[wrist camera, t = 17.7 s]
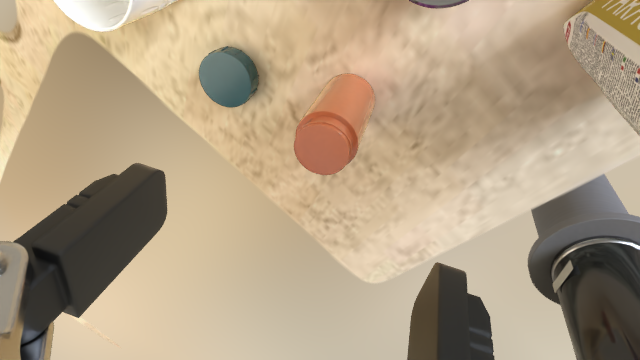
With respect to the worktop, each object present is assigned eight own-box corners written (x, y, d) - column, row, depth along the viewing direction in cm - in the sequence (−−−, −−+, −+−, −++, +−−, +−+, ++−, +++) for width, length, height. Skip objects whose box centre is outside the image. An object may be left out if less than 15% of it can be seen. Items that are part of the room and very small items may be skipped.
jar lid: (208, 40, 39) (198, 45, 38) (261, 55, 39) (253, 61, 37) (207, 92, 42) (198, 98, 41) (256, 106, 42) (248, 114, 40)
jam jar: (386, 100, 38) (368, 154, 29) (349, 133, 41) (324, 190, 32) (347, 62, 37) (317, 105, 28) (312, 98, 40) (276, 147, 31)
